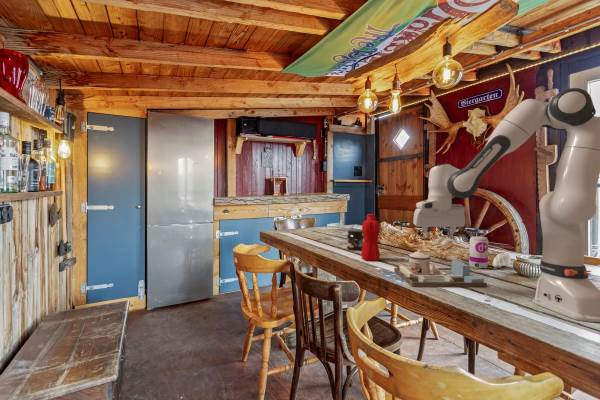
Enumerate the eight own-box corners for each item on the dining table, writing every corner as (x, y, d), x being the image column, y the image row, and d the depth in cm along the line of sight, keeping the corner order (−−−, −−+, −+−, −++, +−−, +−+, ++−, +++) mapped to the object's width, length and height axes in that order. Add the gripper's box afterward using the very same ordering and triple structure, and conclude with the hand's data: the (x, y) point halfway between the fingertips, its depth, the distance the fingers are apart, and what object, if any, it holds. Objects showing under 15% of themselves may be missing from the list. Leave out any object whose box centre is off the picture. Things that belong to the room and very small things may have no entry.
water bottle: (384, 261, 169) (384, 214, 168) (363, 261, 169) (364, 214, 168) (379, 257, 178) (380, 213, 177) (360, 257, 179) (361, 213, 178)
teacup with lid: (404, 274, 144) (404, 249, 144) (416, 271, 150) (417, 247, 149) (427, 281, 135) (428, 253, 134) (440, 277, 140) (440, 251, 139)
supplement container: (343, 248, 205) (343, 229, 205) (357, 247, 210) (357, 229, 209) (352, 251, 196) (353, 232, 195) (366, 250, 200) (367, 231, 200)
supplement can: (490, 269, 154) (491, 239, 154) (471, 268, 156) (472, 238, 155) (484, 265, 162) (485, 236, 162) (466, 264, 164) (467, 235, 163)
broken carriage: (485, 286, 128) (485, 279, 128) (423, 285, 128) (423, 279, 128) (477, 282, 134) (477, 275, 133) (418, 281, 133) (418, 275, 133)
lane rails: (486, 287, 127) (486, 283, 127) (411, 286, 127) (412, 282, 127) (457, 271, 150) (457, 268, 150) (394, 271, 150) (394, 267, 150)
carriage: (471, 280, 135) (472, 266, 135) (409, 280, 135) (410, 266, 135) (455, 272, 149) (456, 259, 149) (399, 271, 149) (399, 259, 149)
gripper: (460, 203, 133) (460, 236, 133) (412, 203, 132) (411, 236, 133) (469, 204, 126) (468, 239, 127) (417, 204, 126) (417, 238, 127)
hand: (438, 237), depth 130 cm, fingers open, 8 cm apart
